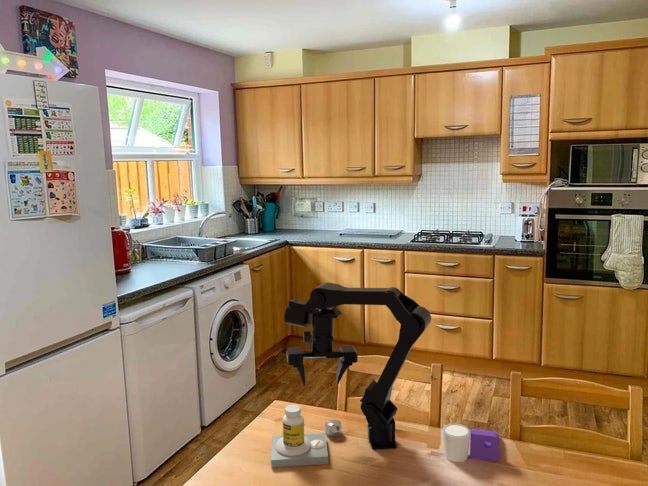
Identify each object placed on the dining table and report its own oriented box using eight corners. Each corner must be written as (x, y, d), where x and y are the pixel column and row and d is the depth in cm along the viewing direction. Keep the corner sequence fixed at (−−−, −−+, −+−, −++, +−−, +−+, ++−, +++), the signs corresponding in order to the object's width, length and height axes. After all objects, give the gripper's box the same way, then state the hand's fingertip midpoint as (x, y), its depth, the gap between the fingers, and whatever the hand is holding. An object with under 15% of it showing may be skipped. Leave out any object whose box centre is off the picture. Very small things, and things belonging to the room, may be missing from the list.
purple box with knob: (498, 462, 130) (499, 437, 129) (469, 458, 132) (470, 433, 131) (497, 437, 142) (498, 413, 140) (470, 434, 144) (471, 410, 142)
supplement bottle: (280, 448, 133) (279, 412, 132) (286, 437, 139) (285, 402, 137) (301, 450, 132) (300, 414, 131) (306, 439, 137) (305, 404, 136)
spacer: (340, 429, 147) (340, 419, 147) (342, 437, 143) (341, 427, 142) (324, 429, 147) (324, 419, 146) (325, 438, 143) (325, 428, 142)
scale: (324, 439, 142) (324, 430, 141) (328, 463, 131) (328, 454, 131) (272, 443, 141) (272, 434, 140) (271, 467, 130) (271, 457, 130)
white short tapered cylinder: (474, 454, 133) (475, 429, 132) (461, 467, 128) (462, 440, 127) (450, 445, 138) (450, 420, 137) (436, 456, 133) (437, 431, 132)
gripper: (350, 319, 151) (348, 370, 154) (285, 320, 148) (283, 372, 151) (359, 333, 140) (356, 388, 143) (288, 335, 137) (287, 391, 140)
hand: (320, 384), depth 145 cm, fingers open, 9 cm apart
